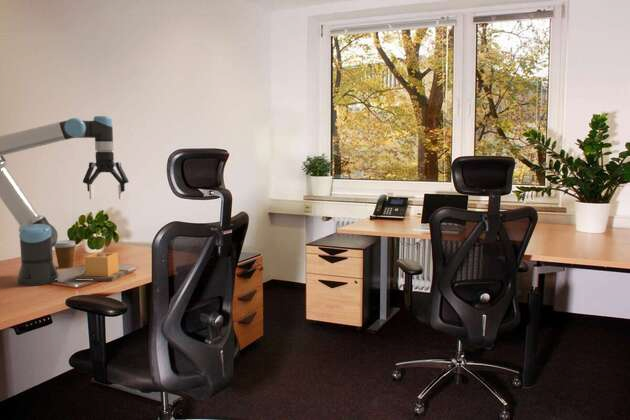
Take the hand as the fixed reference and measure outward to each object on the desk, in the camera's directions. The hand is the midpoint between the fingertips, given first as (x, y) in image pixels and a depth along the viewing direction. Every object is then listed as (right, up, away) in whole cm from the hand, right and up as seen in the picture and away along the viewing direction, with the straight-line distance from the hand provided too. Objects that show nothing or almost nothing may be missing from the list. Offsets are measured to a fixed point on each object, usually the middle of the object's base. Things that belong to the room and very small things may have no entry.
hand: (106, 199), depth 243 cm
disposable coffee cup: (-24, -32, +12) cm, 41 cm away
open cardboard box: (+2, -32, -9) cm, 34 cm away
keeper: (+2, -34, -9) cm, 35 cm away
